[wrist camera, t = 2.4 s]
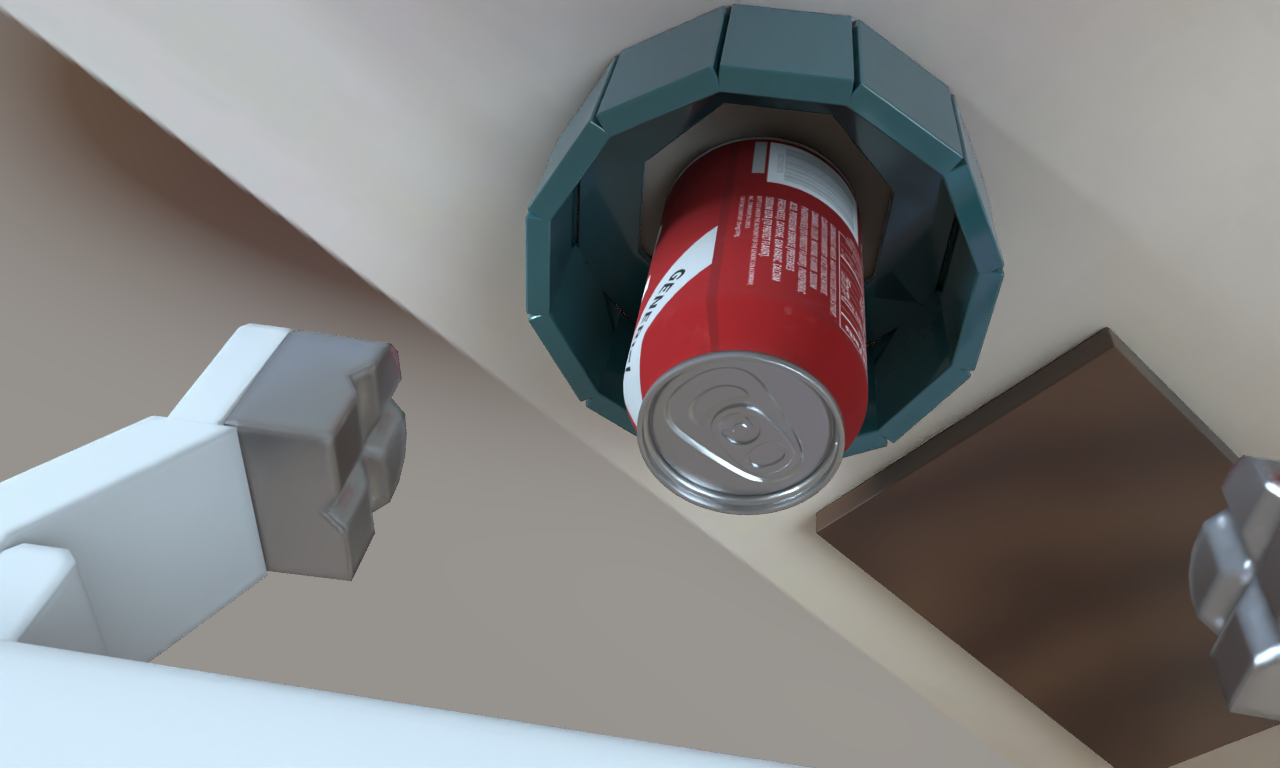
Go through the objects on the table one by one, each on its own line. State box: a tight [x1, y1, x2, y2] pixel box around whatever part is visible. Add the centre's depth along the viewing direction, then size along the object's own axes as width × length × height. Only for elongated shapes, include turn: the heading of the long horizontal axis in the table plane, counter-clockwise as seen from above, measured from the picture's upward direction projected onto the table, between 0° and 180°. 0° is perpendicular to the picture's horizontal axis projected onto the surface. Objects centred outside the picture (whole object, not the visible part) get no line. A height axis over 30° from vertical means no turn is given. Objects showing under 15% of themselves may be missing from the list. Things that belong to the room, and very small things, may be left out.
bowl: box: [526, 4, 1004, 458], centre depth 37 cm, size 15×15×5 cm
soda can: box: [623, 137, 868, 515], centre depth 34 cm, size 7×7×12 cm
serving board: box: [816, 327, 1280, 768], centre depth 46 cm, size 22×14×1 cm, turn 49°
